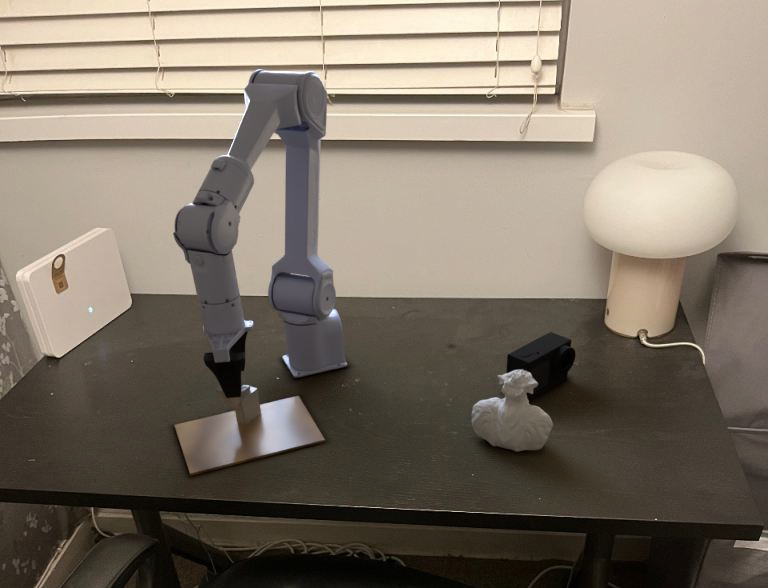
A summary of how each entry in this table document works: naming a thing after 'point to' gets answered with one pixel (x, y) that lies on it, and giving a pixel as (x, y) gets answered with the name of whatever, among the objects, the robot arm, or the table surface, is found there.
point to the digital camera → (544, 361)
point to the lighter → (243, 403)
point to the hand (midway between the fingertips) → (235, 383)
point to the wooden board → (246, 435)
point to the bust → (512, 416)
